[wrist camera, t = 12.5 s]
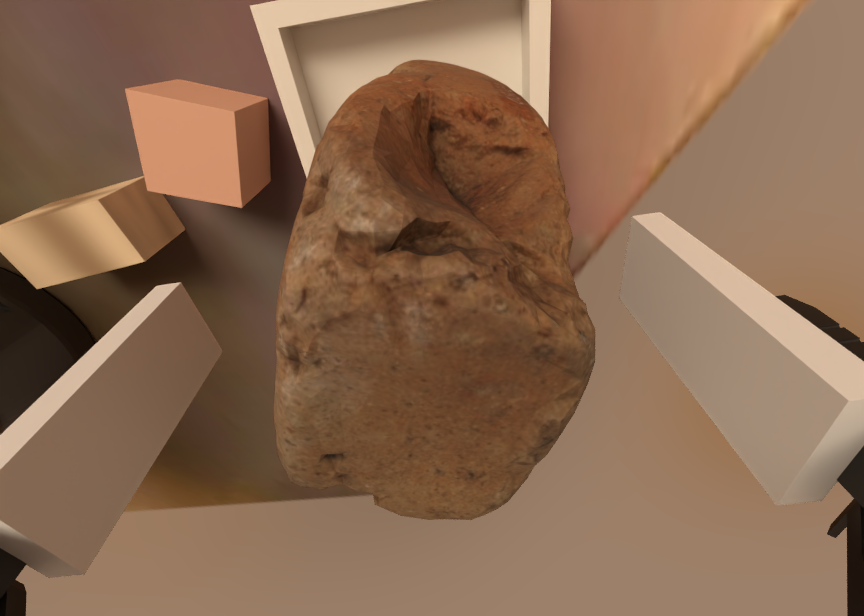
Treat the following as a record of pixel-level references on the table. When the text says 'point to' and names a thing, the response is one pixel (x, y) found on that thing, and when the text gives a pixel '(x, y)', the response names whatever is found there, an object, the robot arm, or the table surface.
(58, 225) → the oak brick
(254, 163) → the terracotta cube
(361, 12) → the tray
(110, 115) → the table surface
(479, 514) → the brown rough rounded part
